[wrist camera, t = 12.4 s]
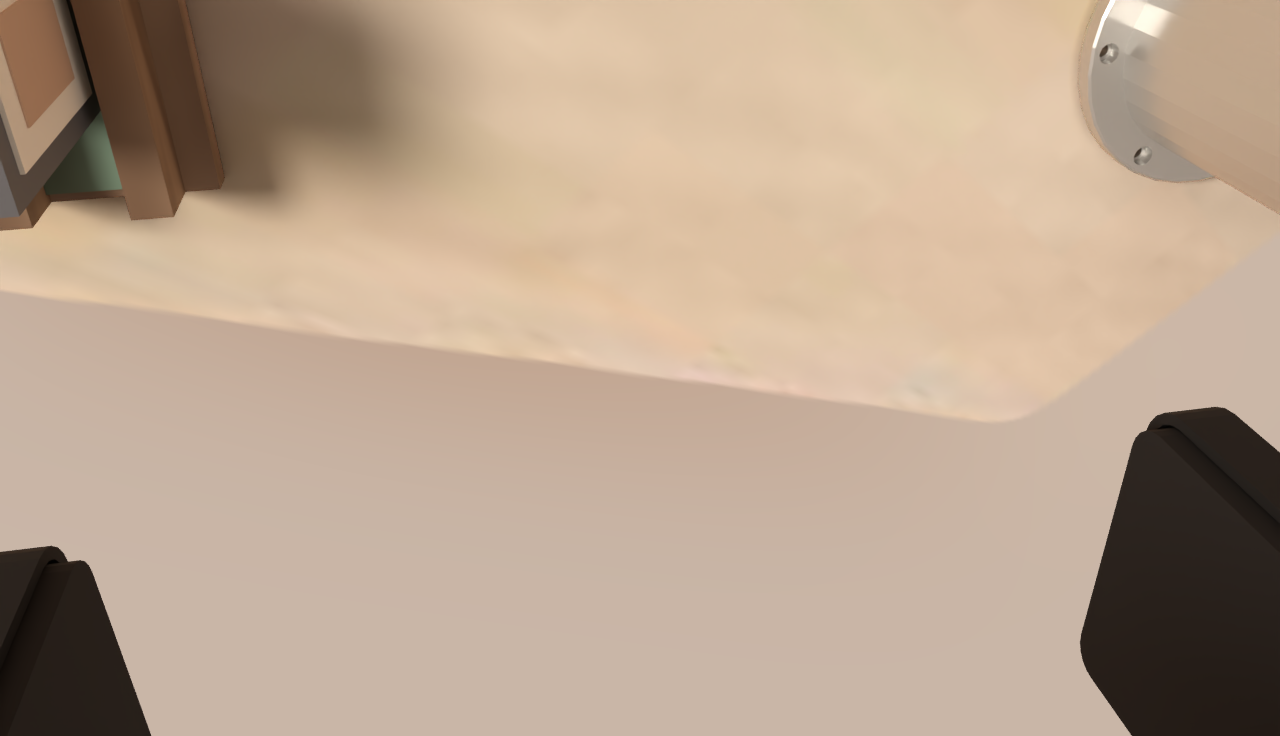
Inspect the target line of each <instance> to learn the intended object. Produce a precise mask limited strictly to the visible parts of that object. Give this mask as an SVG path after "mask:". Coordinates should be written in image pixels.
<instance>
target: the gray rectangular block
mask: <svg viewBox="0 0 1280 736" xmlns="http://www.w3.org/2000/svg"><path fill="white" fill-rule="evenodd" d="M100 111H101V109H100V106H99V102H98V98H97V95H96V91H95V88H94V84H93V80H92V77H91V73H90V69H89V66H88V62H87V58H86V55H85V51H84V48H83V44H82V40H81V37H80V33H79V29H78V26H77V22H76V19H75V15H74V11H73V8H72V4H71V0H0V218H8V217H20V215H21V214H22V213H23V211H24V210H25V209H26V208H27V206H28V205H29V204H30V202H31V201H32V200H33V198H34V197H35V196H36V195H37V193H38V192H39V191H40V189H41V188H42V187H43V185H44V184H45V183H46V181H47V180H48V179H49V178H50V176H51V175H52V174H53V172H54V171H55V170H56V168H57V167H58V166H59V165H60V163H61V162H62V161H63V159H64V158H65V157H66V155H67V154H68V153H69V151H70V150H71V149H72V148H73V146H74V145H75V144H76V142H77V141H78V140H79V138H80V137H81V136H82V135H83V133H84V132H85V131H86V129H87V128H88V127H89V125H90V124H91V123H92V121H93V120H94V119H95V118H96V116H97V115H98V114H99V112H100Z"/></svg>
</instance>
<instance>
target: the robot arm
mask: <svg viewBox="0 0 1280 736" xmlns="http://www.w3.org/2000/svg"><path fill="white" fill-rule="evenodd" d="M1078 88H1079V95H1080V103H1081V109H1082V112H1083V115H1084V117H1085V120H1086V123H1087V126H1088V128H1089V130H1090V132H1091V133H1092V135H1093V136H1094V138H1095V139H1096V141H1097V143H1098V144H1099V146H1100V147H1101V148H1102V149H1103V150H1104V151H1105V152H1106V153H1108V154H1109V155H1110V156H1111V157H1112V158H1113V159H1114V160H1115V161H1116V162H1118V163H1120V164H1121V165H1123V166H1124V167H1126V168H1127V169H1129V170H1131V171H1132V172H1134V173H1137V174H1139V175H1142V176H1145V177H1148V178H1150V179H1153V180H1157V181H1166V182H1174V183H1181V182H1193V181H1202V180H1205V179H1209V178H1213V177H1216V178H1218V179H1220V180H1221V181H1223V182H1225V183H1226V184H1228V185H1230V186H1232V187H1233V188H1235V189H1237V190H1238V191H1240V192H1242V193H1244V194H1245V195H1247V196H1249V197H1250V198H1252V199H1254V200H1256V201H1257V202H1259V203H1261V204H1262V205H1264V206H1266V207H1268V208H1269V209H1271V210H1273V211H1274V212H1276V213H1278V214H1280V0H1098V1H1097V4H1096V6H1095V9H1094V11H1093V13H1092V16H1091V18H1090V21H1089V23H1088V26H1087V28H1086V32H1085V36H1084V40H1083V44H1082V49H1081V53H1080V59H1079V74H1078ZM1080 646H1081V654H1082V659H1083V662H1084V665H1085V667H1086V670H1087V672H1088V673H1089V675H1090V677H1091V678H1092V679H1093V681H1094V682H1095V684H1096V685H1097V687H1098V688H1099V690H1100V691H1101V692H1102V694H1103V695H1104V697H1105V698H1106V700H1107V701H1108V702H1109V704H1110V705H1111V707H1112V708H1113V709H1114V711H1115V712H1116V714H1117V715H1118V717H1119V718H1120V719H1121V721H1122V722H1123V724H1124V725H1125V727H1126V728H1127V729H1128V731H1129V732H1130V733H1131V735H1132V736H1280V452H1278V451H1277V450H1276V449H1275V448H1274V447H1273V446H1271V445H1270V444H1269V443H1268V442H1267V441H1266V440H1264V439H1263V438H1262V437H1261V436H1260V435H1259V434H1257V433H1256V432H1255V431H1254V430H1253V429H1251V428H1250V427H1249V426H1248V425H1247V424H1245V423H1244V422H1243V421H1242V420H1241V419H1240V418H1239V417H1237V416H1236V415H1235V414H1233V413H1232V412H1230V411H1229V410H1227V409H1225V408H1219V407H1211V408H1203V409H1194V410H1186V411H1177V412H1169V413H1163V414H1161V415H1157V416H1156V417H1155V418H1154V419H1153V420H1152V421H1151V422H1150V424H1149V426H1148V428H1147V431H1144V432H1141V433H1140V434H1139V435H1138V436H1137V437H1136V438H1135V441H1134V443H1133V446H1132V449H1131V453H1130V457H1129V460H1128V464H1127V467H1126V471H1125V475H1124V479H1123V482H1122V486H1121V490H1120V494H1119V497H1118V501H1117V504H1116V508H1115V512H1114V515H1113V519H1112V523H1111V526H1110V530H1109V534H1108V538H1107V541H1106V545H1105V549H1104V552H1103V556H1102V560H1101V563H1100V567H1099V571H1098V575H1097V578H1096V582H1095V586H1094V589H1093V593H1092V597H1091V600H1090V604H1089V608H1088V611H1087V615H1086V619H1085V622H1084V626H1083V630H1082V633H1081V640H1080ZM0 736H151V734H150V731H149V728H148V725H147V723H146V720H145V717H144V714H143V711H142V709H141V706H140V703H139V700H138V698H137V695H136V692H135V689H134V687H133V684H132V681H131V678H130V675H129V673H128V670H127V667H126V665H125V662H124V659H123V656H122V654H121V651H120V648H119V645H118V642H117V639H116V637H115V634H114V631H113V628H112V626H111V623H110V620H109V617H108V615H107V612H106V609H105V606H104V603H103V601H102V598H101V595H100V592H99V590H98V587H97V584H96V581H95V579H94V576H93V573H92V571H91V569H90V567H89V565H88V564H87V563H86V562H85V561H81V560H79V561H71V562H68V561H67V559H66V557H65V555H64V553H63V552H62V551H61V550H60V549H59V548H58V547H53V546H47V547H38V548H30V549H22V550H14V551H6V552H0Z"/></svg>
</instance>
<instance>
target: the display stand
mask: <svg viewBox="0 0 1280 736" xmlns="http://www.w3.org/2000/svg"><path fill="white" fill-rule="evenodd" d="M71 4H72V8H73V11H74V15H75V19H76V22H77V26H78V29H79V33H80V37H81V40H82V44H83V48H84V51H85V55H86V58H87V62H88V66H89V69H90V73H91V77H92V80H93V84H94V88H95V91H96V95H97V98H98V102H99V106H100V109H101V111H100V112H99V114H98V115H97V116H96V118H95V119H94V120H93V121H92V123H91V124H90V125H89V127H88V128H87V129H86V131H85V132H84V133H83V135H82V136H81V137H80V138H79V140H78V141H77V142H76V144H75V145H74V146H73V148H72V149H71V150H70V151H69V153H68V154H67V155H66V157H65V158H64V159H63V161H62V162H61V163H60V165H59V166H58V167H57V168H56V170H55V171H54V172H53V174H52V175H51V176H50V178H49V179H48V180H47V181H46V183H45V184H44V185H43V187H42V188H41V189H40V191H39V192H38V193H37V195H36V196H35V197H34V198H33V200H32V201H31V202H30V204H29V205H28V206H27V208H26V209H25V210H24V211H23V213H22V214H21V215H20V217H8V218H0V231H2V230H14V229H27V228H33V227H34V225H35V224H36V223H37V221H38V220H39V218H40V217H41V216H42V214H43V213H44V212H45V210H46V209H47V207H48V206H49V205H50V203H51V202H56V201H69V200H82V199H95V198H108V197H121V196H125V200H126V204H127V207H128V211H129V215H130V218H131V220H140V219H153V218H166V217H174V215H175V213H176V211H177V209H178V207H179V204H180V202H181V200H182V198H183V196H184V194H185V192H187V191H200V190H213V189H220V188H221V186H222V183H223V181H224V178H225V177H224V173H223V168H222V164H221V159H220V155H219V150H218V146H217V141H216V137H215V132H214V128H213V123H212V119H211V114H210V110H209V105H208V101H207V96H206V92H205V88H204V83H203V79H202V74H201V70H200V65H199V61H198V56H197V52H196V47H195V43H194V38H193V34H192V29H191V25H190V20H189V16H188V11H187V7H186V2H185V0H71Z"/></svg>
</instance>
